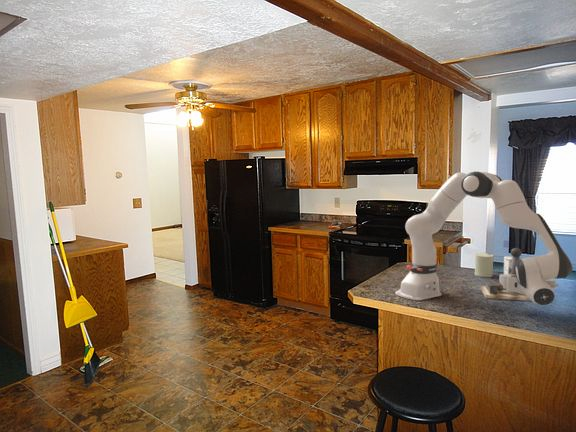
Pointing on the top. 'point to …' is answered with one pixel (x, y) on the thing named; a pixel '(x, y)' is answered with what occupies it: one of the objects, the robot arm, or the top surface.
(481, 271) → the can
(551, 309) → the top surface
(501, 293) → the press frame
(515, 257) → the press handle
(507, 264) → the syrup box
